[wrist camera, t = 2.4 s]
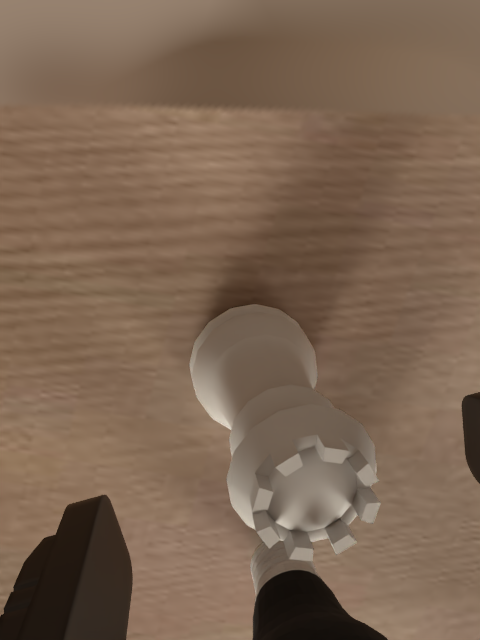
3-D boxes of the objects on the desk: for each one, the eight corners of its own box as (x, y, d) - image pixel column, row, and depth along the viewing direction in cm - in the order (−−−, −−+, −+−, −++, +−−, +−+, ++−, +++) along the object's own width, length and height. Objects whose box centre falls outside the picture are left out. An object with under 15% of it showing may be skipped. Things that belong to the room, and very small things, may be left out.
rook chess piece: (321, 388, 16) (448, 548, 9) (214, 431, 16) (247, 632, 9) (286, 282, 15) (399, 360, 7) (169, 327, 15) (161, 456, 7)
